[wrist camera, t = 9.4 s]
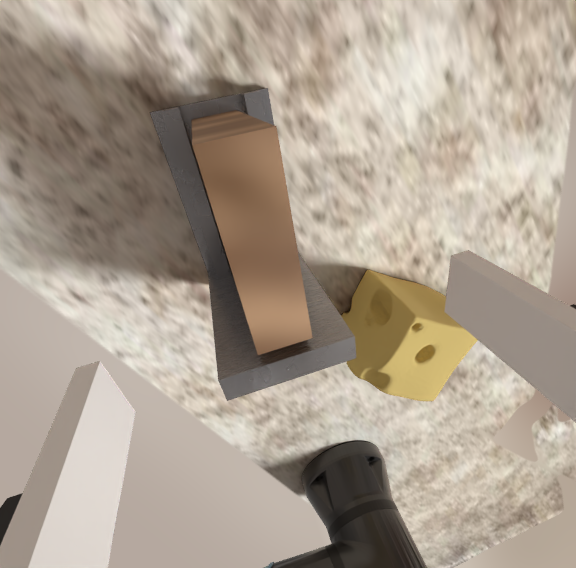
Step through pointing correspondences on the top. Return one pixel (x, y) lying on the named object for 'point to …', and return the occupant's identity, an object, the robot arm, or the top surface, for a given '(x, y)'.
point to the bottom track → (223, 292)
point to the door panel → (254, 223)
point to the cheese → (404, 337)
